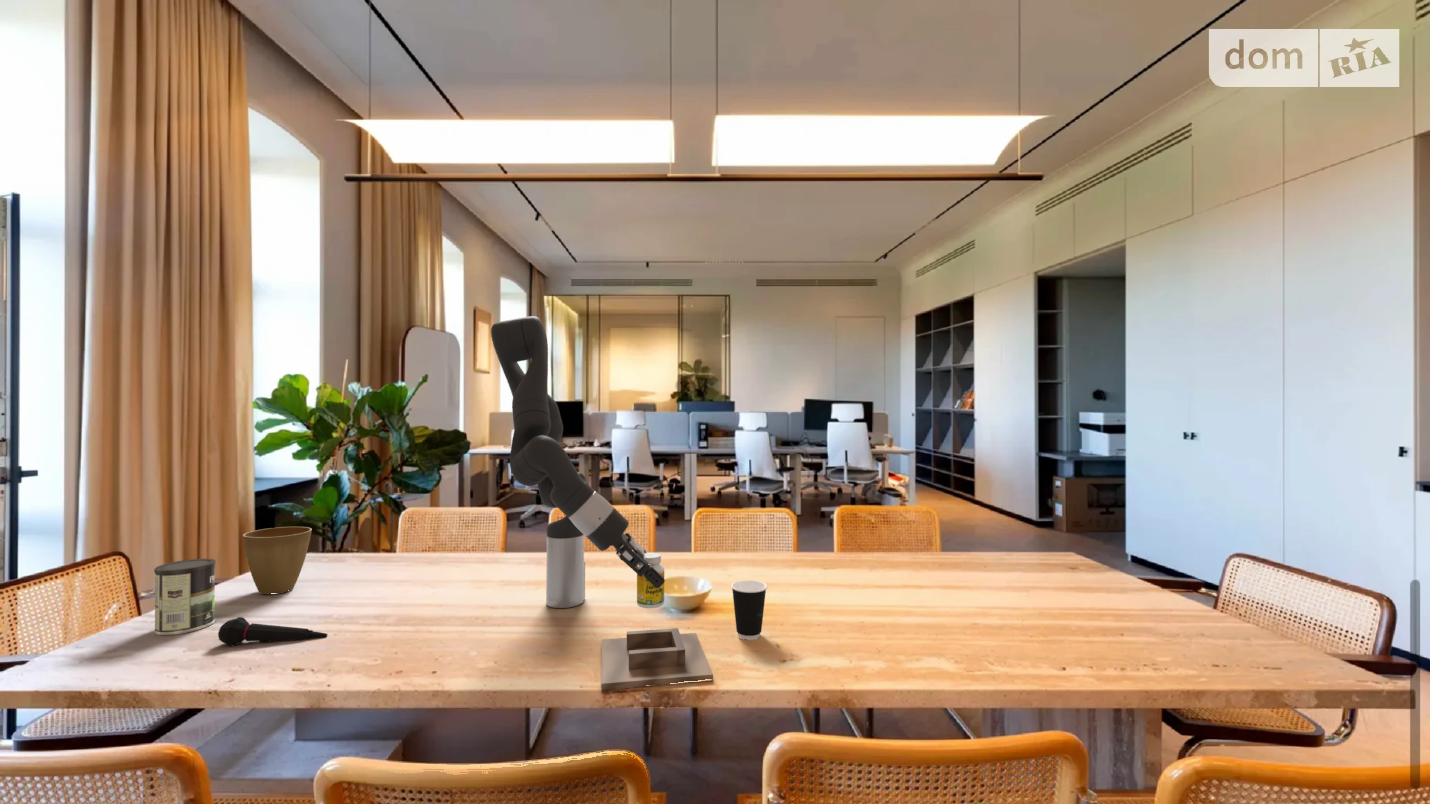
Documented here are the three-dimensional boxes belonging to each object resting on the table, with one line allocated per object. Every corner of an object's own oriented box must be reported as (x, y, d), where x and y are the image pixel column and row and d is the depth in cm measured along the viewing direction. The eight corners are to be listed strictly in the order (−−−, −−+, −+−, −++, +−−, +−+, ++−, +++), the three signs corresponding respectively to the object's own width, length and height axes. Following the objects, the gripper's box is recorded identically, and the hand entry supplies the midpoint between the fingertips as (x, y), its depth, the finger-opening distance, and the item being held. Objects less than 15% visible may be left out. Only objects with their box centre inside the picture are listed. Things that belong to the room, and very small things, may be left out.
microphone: (327, 648, 129) (222, 645, 124) (334, 620, 131) (231, 616, 126) (318, 650, 124) (208, 646, 119) (326, 621, 126) (218, 616, 121)
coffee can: (211, 615, 140) (212, 555, 140) (218, 626, 133) (218, 563, 133) (151, 627, 132) (152, 564, 132) (155, 639, 125) (156, 573, 125)
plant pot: (284, 600, 151) (285, 537, 151) (227, 599, 151) (227, 537, 151) (323, 582, 166) (324, 525, 166) (271, 582, 166) (272, 525, 166)
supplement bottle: (656, 598, 119) (656, 550, 119) (669, 605, 114) (669, 556, 114) (632, 602, 116) (632, 554, 116) (644, 610, 111) (644, 560, 111)
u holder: (601, 690, 104) (601, 666, 104) (601, 645, 123) (601, 625, 123) (713, 681, 107) (713, 657, 107) (695, 638, 127) (696, 619, 127)
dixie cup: (771, 641, 126) (772, 589, 126) (736, 644, 124) (736, 592, 124) (760, 627, 133) (761, 579, 133) (726, 630, 132) (727, 581, 132)
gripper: (613, 513, 107) (678, 576, 109) (612, 500, 121) (670, 556, 123) (582, 543, 106) (649, 606, 108) (585, 527, 120) (644, 583, 122)
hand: (659, 579), depth 116 cm, fingers closed on supplement bottle, 5 cm apart
